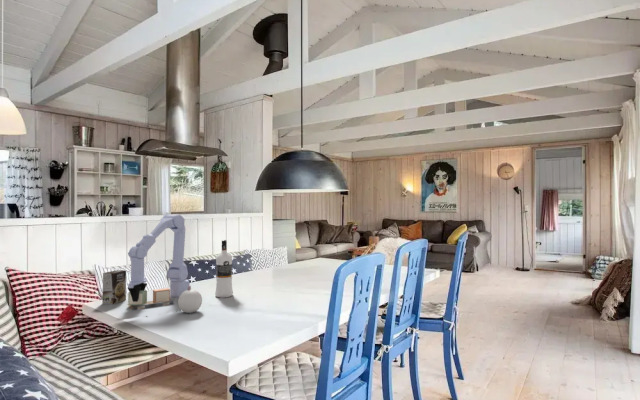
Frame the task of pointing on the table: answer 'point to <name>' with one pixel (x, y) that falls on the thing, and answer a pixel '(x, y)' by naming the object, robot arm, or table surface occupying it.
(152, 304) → the tan panel metal trim
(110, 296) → the coffee box
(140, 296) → the sage tin
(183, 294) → the ornament
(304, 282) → the table surface
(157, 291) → the salmon rectangular block
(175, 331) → the table surface
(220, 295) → the vodka
